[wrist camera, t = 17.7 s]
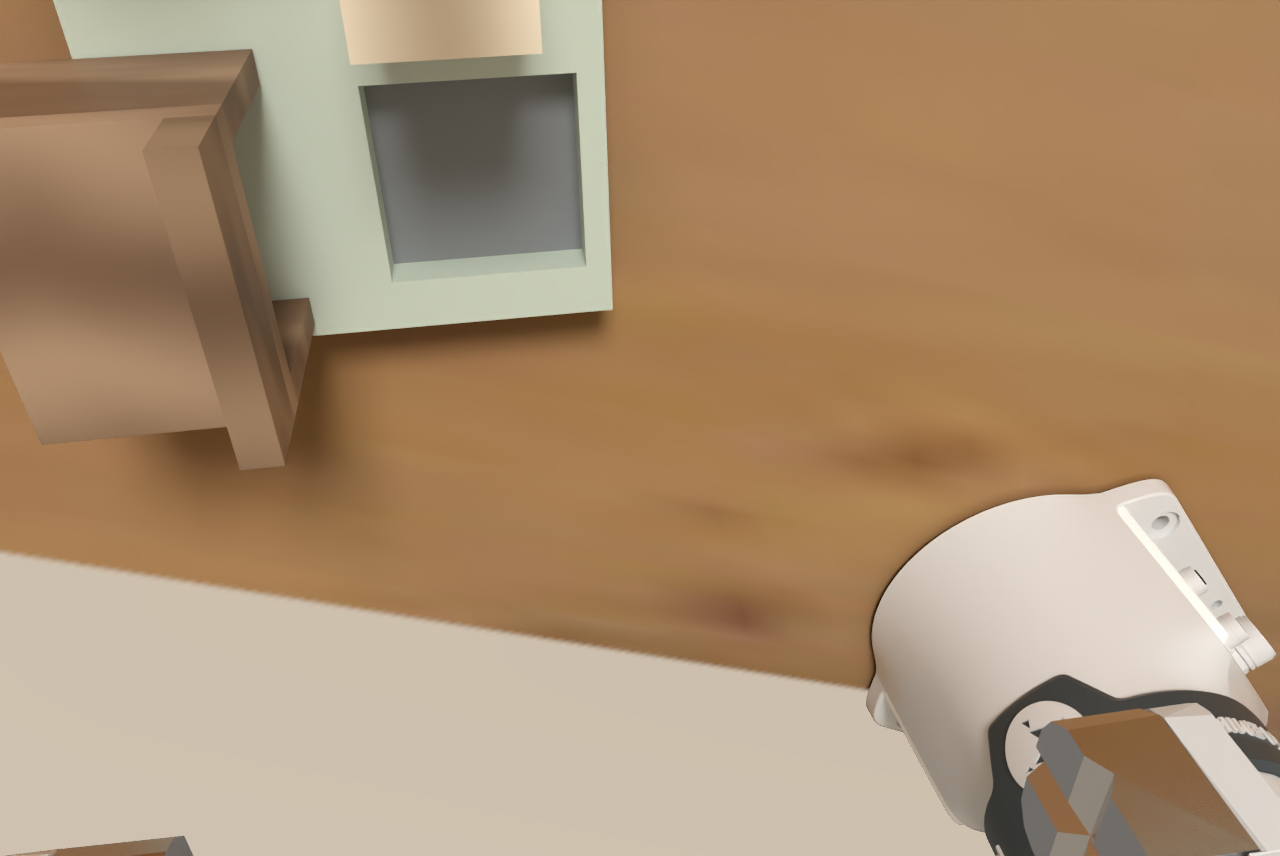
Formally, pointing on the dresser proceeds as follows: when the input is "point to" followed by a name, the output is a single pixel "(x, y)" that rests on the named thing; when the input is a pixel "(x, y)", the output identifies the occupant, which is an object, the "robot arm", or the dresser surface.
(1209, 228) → the dresser surface
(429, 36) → the block
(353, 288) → the board
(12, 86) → the brown wooden piece
